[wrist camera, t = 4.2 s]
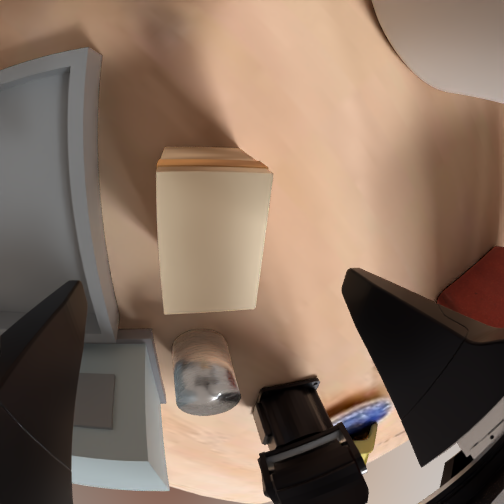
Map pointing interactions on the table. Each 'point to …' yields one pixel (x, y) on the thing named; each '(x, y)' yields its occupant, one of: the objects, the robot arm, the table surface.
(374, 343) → the robot arm
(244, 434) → the table surface
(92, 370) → the box
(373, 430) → the plastic component
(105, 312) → the parts tray
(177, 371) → the chrome-capped short cylinder
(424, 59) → the cylinder vase
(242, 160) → the block
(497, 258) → the plant pot
